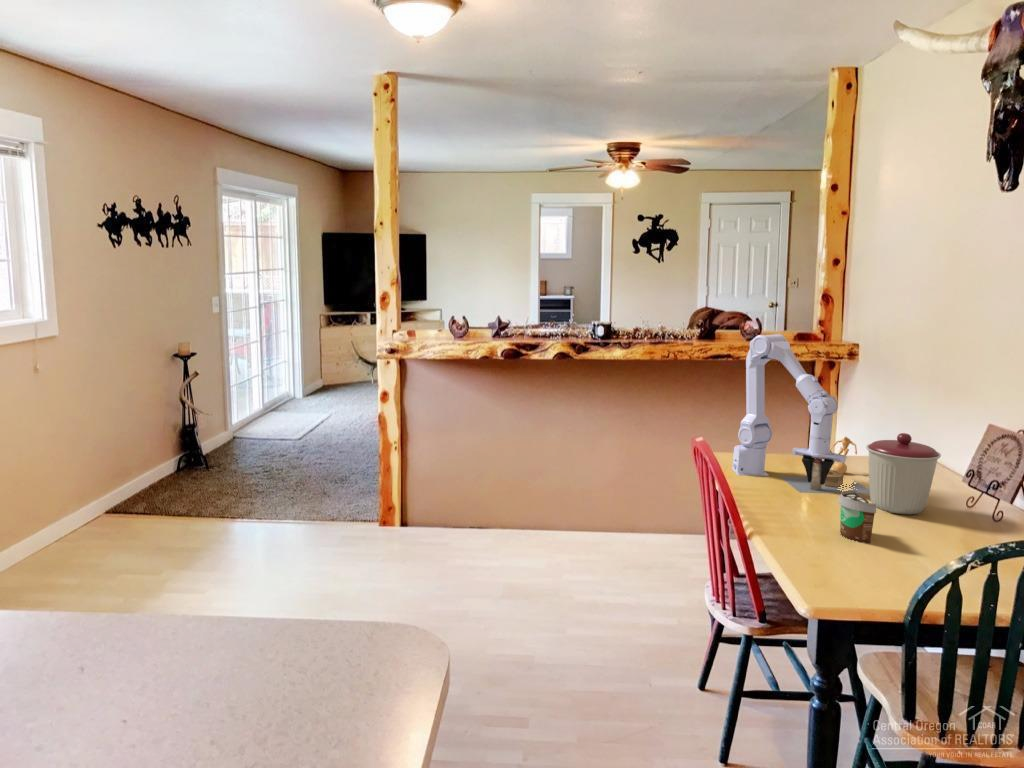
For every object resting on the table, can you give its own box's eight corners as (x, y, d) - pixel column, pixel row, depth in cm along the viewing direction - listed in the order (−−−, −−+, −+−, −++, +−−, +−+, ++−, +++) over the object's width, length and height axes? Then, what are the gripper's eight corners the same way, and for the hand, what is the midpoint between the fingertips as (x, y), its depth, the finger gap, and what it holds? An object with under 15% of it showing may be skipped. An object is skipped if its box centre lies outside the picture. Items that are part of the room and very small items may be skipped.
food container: (827, 527, 198) (830, 488, 197) (852, 528, 198) (855, 489, 197) (846, 544, 186) (850, 503, 185) (872, 545, 186) (876, 504, 184)
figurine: (823, 472, 252) (827, 435, 250) (832, 469, 256) (836, 433, 254) (849, 478, 246) (853, 440, 244) (858, 475, 250) (861, 438, 248)
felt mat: (799, 493, 227) (799, 492, 227) (779, 477, 244) (779, 476, 244) (875, 495, 227) (875, 494, 227) (849, 479, 244) (850, 478, 244)
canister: (868, 495, 228) (875, 423, 224) (938, 507, 217) (947, 433, 214) (853, 510, 213) (861, 433, 210) (928, 524, 203) (937, 444, 199)
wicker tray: (815, 486, 234) (816, 476, 234) (804, 477, 243) (805, 468, 243) (846, 486, 234) (847, 477, 234) (833, 478, 243) (834, 469, 243)
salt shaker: (812, 490, 229) (815, 458, 228) (808, 487, 232) (811, 456, 231) (822, 490, 229) (825, 459, 228) (818, 487, 232) (821, 456, 231)
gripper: (790, 435, 229) (786, 480, 231) (843, 443, 221) (838, 490, 223) (798, 431, 235) (794, 476, 237) (849, 439, 226) (845, 485, 229)
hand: (816, 482), depth 230 cm, fingers closed on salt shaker, 3 cm apart
